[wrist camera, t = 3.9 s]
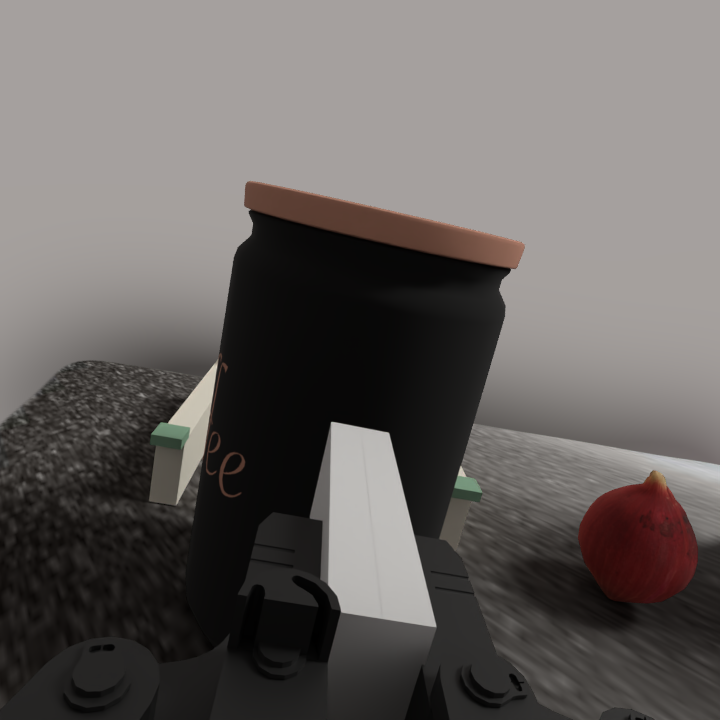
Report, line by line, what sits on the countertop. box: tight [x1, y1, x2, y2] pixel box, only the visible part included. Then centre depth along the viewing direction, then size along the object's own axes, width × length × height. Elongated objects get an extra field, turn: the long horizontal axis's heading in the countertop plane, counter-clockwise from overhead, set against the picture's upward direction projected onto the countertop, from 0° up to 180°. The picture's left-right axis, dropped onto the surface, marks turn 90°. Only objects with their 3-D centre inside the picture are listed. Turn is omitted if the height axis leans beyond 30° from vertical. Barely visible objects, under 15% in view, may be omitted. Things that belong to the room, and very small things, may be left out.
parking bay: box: [149, 360, 482, 551], centre depth 37 cm, size 18×16×5 cm
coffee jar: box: [186, 181, 525, 647], centre depth 22 cm, size 11×11×18 cm
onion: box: [578, 470, 698, 603], centre depth 29 cm, size 6×6×8 cm
